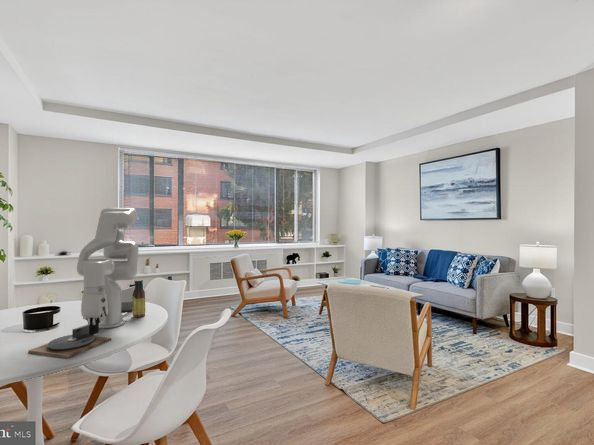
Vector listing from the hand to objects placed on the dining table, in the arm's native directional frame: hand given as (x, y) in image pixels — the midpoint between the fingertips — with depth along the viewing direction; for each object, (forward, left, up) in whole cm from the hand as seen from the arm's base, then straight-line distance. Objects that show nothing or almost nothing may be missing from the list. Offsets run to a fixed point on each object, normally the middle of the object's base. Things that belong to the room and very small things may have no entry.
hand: (93, 333), depth 138 cm
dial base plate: (+5, -6, -4) cm, 9 cm away
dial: (+4, -6, -3) cm, 8 cm away
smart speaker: (-47, -25, -4) cm, 53 cm away
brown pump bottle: (-38, -10, -4) cm, 39 cm away
